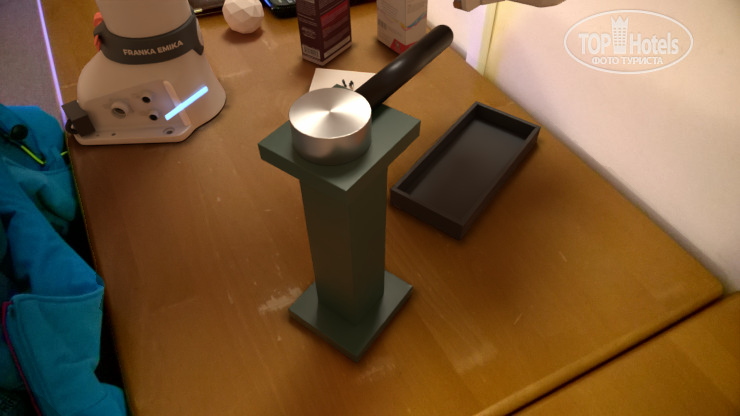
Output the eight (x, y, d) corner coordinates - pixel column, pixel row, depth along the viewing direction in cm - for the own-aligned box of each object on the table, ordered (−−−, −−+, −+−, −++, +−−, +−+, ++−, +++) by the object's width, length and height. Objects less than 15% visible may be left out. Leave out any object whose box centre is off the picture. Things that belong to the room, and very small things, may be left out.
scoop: (419, 32, 45) (421, 7, 44) (474, 52, 43) (479, 26, 41) (276, 144, 35) (271, 117, 34) (338, 177, 33) (336, 150, 31)
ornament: (239, 16, 96) (259, -18, 92) (258, 44, 94) (280, 10, 90) (208, 11, 91) (228, -26, 86) (228, 40, 89) (249, 4, 84)
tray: (473, 115, 76) (476, 100, 74) (536, 141, 72) (541, 126, 70) (389, 203, 64) (390, 188, 62) (459, 240, 60) (462, 226, 58)
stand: (347, 254, 59) (335, 78, 41) (412, 293, 55) (430, 119, 37) (289, 316, 53) (247, 144, 35) (357, 363, 50) (347, 199, 32)
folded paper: (386, 80, 82) (387, 69, 81) (374, 127, 74) (374, 116, 73) (315, 73, 84) (314, 63, 82) (296, 119, 76) (294, 108, 74)
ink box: (426, 51, 88) (432, -16, 79) (403, 60, 86) (406, -8, 77) (397, 30, 93) (399, -36, 84) (374, 38, 91) (374, -28, 82)
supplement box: (331, 37, 91) (325, -56, 79) (353, 45, 89) (349, -48, 77) (300, 58, 87) (288, -37, 75) (322, 67, 85) (313, -29, 73)
